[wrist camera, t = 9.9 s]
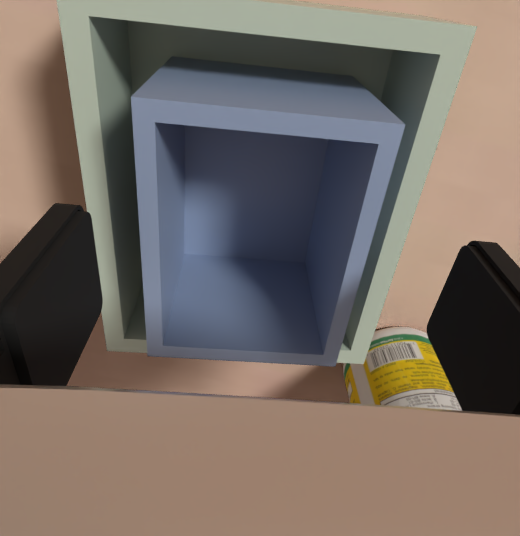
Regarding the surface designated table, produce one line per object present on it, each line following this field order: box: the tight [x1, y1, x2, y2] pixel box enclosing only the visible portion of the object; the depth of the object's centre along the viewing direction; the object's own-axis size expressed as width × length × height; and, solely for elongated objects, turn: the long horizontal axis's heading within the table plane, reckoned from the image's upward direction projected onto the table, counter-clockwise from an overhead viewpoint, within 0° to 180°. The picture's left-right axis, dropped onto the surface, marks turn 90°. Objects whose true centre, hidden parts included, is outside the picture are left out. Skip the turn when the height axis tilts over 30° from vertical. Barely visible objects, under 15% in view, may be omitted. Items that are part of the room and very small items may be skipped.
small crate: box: [131, 56, 406, 366], centre depth 14 cm, size 6×8×6 cm
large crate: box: [57, 0, 477, 364], centre depth 15 cm, size 10×12×4 cm
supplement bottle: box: [343, 327, 462, 411], centre depth 19 cm, size 5×5×10 cm
